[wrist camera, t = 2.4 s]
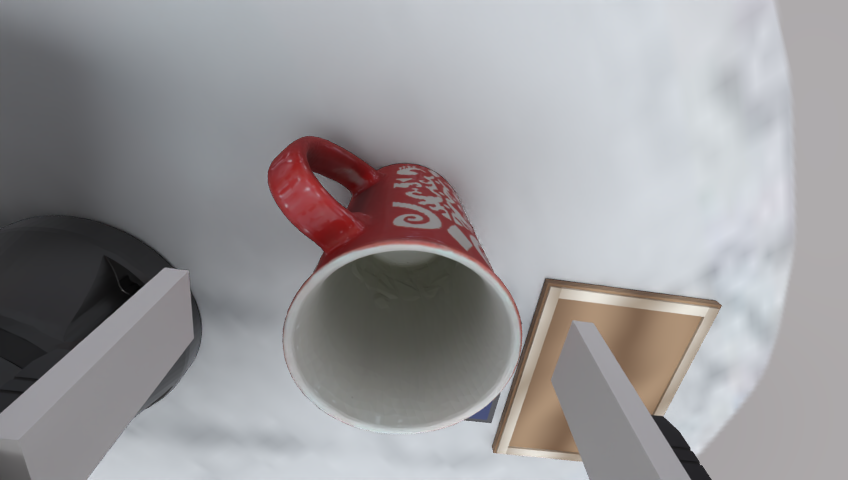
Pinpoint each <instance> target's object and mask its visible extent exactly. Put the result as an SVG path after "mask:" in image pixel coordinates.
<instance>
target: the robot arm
mask: <svg viewBox="0 0 848 480" xmlns="http://www.w3.org/2000/svg"><path fill="white" fill-rule="evenodd" d="M200 341H201V321H200V316H199V312H198V309H197V306H196V303H195V301H194V298H193V296H192V294H191V292H190V279H189V271H188V270H180V269H173V268H172V267H171V266H170V265H169V264H168V263H167V262H166V261H165V260H164V259H163V258H162V257H161V256H160V255H158V254H157V253H156V252H155V251H153V250H152V249H151V248H149V247H148V246H147V245H145V244H144V243H142V242H140V241H139V240H137V239H136V238H134V237H132V236H130V235H128V234H126V233H124V232H122V231H120V230H118V229H115V228H113V227H110V226H108V225H105V224H102V223H99V222H95V221H92V220H87V219H83V218H77V217H69V216H41V217H34V218H29V219H25V220H21V221H18V222H16V223H13V224H11V225H9V226H7V227H4V228H2V229H0V480H87V479H88V477H89V476H90V475H91V473H92V472H93V471H94V469H95V468H96V467H97V465H98V464H99V463H100V461H101V460H102V459H103V457H104V456H105V455H106V453H107V452H108V451H109V449H110V448H111V447H112V446H113V444H114V443H115V442H116V440H117V439H118V438H119V436H120V435H121V434H122V432H123V431H124V430H125V428H126V427H127V426H128V424H129V423H130V422H131V420H132V419H133V418H134V417H136V416H137V415H138V414H140V413H141V412H142V411H143V410H145V409H147V408H149V407H150V406H152V405H153V404H155V403H156V402H158V401H159V400H161V399H162V398H164V397H165V396H166V395H167V394H168V393H169V392H170V391H171V390H172V389H173V388H174V387H175V386H176V385H177V384H178V382H179V381H180V380H181V378H182V377H183V375H184V374H185V372H186V371H187V369H188V368H189V367H190V365H191V364H192V362H193V361H194V359H195V357H196V355H197V352H198V349H199V346H200ZM551 382H552V385H553V387H554V390H555V392H556V395H557V397H558V400H559V402H560V405H561V408H562V410H563V413H564V415H565V418H566V420H567V423H568V425H569V428H570V431H571V433H572V436H573V438H574V441H575V443H576V446H577V448H578V451H579V454H580V456H581V459H582V461H583V464H584V466H585V469H586V471H587V474H588V477H589V479H590V480H711V478H710V477H709V475H708V474H707V472H706V471H705V469H704V468H703V466H702V465H700V464H699V460H698V459H697V457H696V456H695V454H694V453H693V451H690V447H689V445H688V444H687V442H686V441H685V439H684V438H683V436H682V435H681V433H680V432H679V431H678V430H677V429H676V428H675V427H674V426H673V425H672V424H671V423H670V422H669V421H667V420H666V419H665V418H664V417H663V416H657V415H650V413H649V411H648V410H647V408H646V407H645V405H644V403H643V402H642V400H641V398H640V397H639V395H638V394H637V392H636V390H635V389H634V387H633V386H632V384H631V382H630V381H629V379H628V378H627V376H626V374H625V373H624V371H623V370H622V368H621V366H620V365H619V363H618V362H617V360H616V358H615V357H614V355H613V354H612V352H611V350H610V349H609V347H608V346H607V344H606V342H605V341H604V339H603V338H602V336H601V334H600V333H599V331H598V330H597V328H596V326H595V325H594V323H590V322H582V321H575V320H572V323H571V326H570V329H569V331H568V334H567V337H566V340H565V342H564V345H563V348H562V351H561V353H560V356H559V359H558V362H557V364H556V367H555V370H554V373H553V375H552V378H551Z"/></svg>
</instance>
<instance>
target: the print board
mask: <svg viewBox="0 0 848 480" xmlns="http://www.w3.org/2000/svg"><path fill="white" fill-rule="evenodd" d="M721 306H722V305H721V304H719V303H718V302H717V301H713V300H705V299H698V298H690V297H683V296H675V295H667V294H660V293H652V292H645V291H637V290H629V289H622V288H614V287H607V286H599V285H592V284H584V283H576V282H569V281H561V280H554V279H545V282H544V286H543V289H542V292H541V295H540V298H539V301H538V304H537V308H536V311H535V314H534V317H533V320H532V323H531V326H530V330H529V333H528V336H527V339H526V342H525V345H524V348H523V352H522V355H521V358H520V361H519V364H518V367H517V370H516V374H515V377H514V380H513V383H512V386H511V389H510V392H509V396H508V399H507V402H506V405H505V408H504V411H503V414H502V418H501V421H500V424H499V427H498V430H497V433H496V436H495V440H494V443H493V446H492V448H493V453H498V454H508V455H519V456H529V457H540V458H550V459H561V460H571V461H582V459H581V456H580V454H579V451H578V448H577V446H576V443H575V441H574V438H573V436H572V433H571V431H570V428H569V425H568V423H567V420H566V418H565V415H564V413H563V410H562V408H561V405H560V402H559V400H558V397H557V395H556V392H555V390H554V387H553V385H552V382H551V378H552V375H553V373H554V370H555V367H556V364H557V362H558V359H559V356H560V353H561V351H562V348H563V345H564V342H565V340H566V337H567V334H568V331H569V329H570V326H571V323H572V320H575V321H582V322H590V323H594V325H595V326H596V328H597V330H598V331H599V333H600V334H601V336H602V338H603V339H604V341H605V342H606V344H607V346H608V347H609V349H610V350H611V352H612V354H613V355H614V357H615V358H616V360H617V362H618V363H619V365H620V366H621V368H622V370H623V371H624V373H625V374H626V376H627V378H628V379H629V381H630V382H631V384H632V386H633V387H634V389H635V390H636V392H637V394H638V395H639V397H640V398H641V400H642V402H643V403H644V405H645V407H646V408H647V410H648V411H649V413H650V415H657V416H664V414H665V412H666V410H667V408H668V406H669V404H670V403H671V401H672V399H673V397H674V395H675V393H676V391H677V389H678V387H679V386H680V384H681V382H682V380H683V378H684V376H685V374H686V372H687V370H688V369H689V367H690V365H691V363H692V361H693V359H694V357H695V355H696V353H697V352H698V350H699V348H700V346H701V344H702V342H703V340H704V338H705V336H706V335H707V333H708V331H709V329H710V327H711V325H712V323H713V321H714V319H715V318H716V316H717V314H718V312H719V310H720V308H721ZM582 462H583V461H582Z"/></svg>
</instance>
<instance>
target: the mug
mask: <svg viewBox="0 0 848 480" xmlns="http://www.w3.org/2000/svg"><path fill="white" fill-rule="evenodd" d="M313 172H315V173H318V174H321V175H323V176H325V177H327V178H330V179H332V180H334V181H336V182H338V183H340V184H342V185H343V186H345V187H346V188H347V189H348V190H349V191H350V192H351V193H352V195H353V197H352V199H351V201H350V203H349V205H348V207H347V209H346V208H345V207H343V206H342V205H341V204H340V203H338V202H337V201H336V200H335V199H334V198H333V197H332V196H331V195H330V194H329V193H328V192H327V191H326V190H325V189H324V188H323V186H322V185H321V184H320V182H319V181H318V179H317V178H316V177H315V176H314V174H313ZM268 185H269V188H270V191H271V194H272V196H273V198H274V200H275V202H276V204H277V205H278V207H279V208H280V209H281V211H282V212H283V214H284V215H285V216H286V218H287V219H288V220H289V221H290V222H291V223H292V224H293V225H294V226H295V227H297V228H298V229H299V230H300V231H301V232H302V233H303V234H304V235H306V236H307V237H308V238H309V239H311V240H312V241H314V242H315V243H316V244H317V245H318V246H319V247H321V248H322V249H323V251H324V253H323V255H322V257H321V258H320V261H319V263H318V265H317V267H316V268H315V270H314V272H313V274H312V275H311V276H310V277H309V278H308V279H307V280H306V281H305V283H304V284H303V285H302V286H301V288H300V289H299V291H298V292H297V294H296V295H295V297H294V299H293V301H292V303H291V305H290V307H289V309H288V312H287V315H286V318H285V322H284V327H283V350H284V356H285V361H286V364H287V367H288V369H289V372H290V374H291V376H292V378H293V379H294V381H295V383H296V384H297V386H298V387H299V389H300V390H301V391H302V393H303V394H304V395H305V396H306V397H307V398H308V399H309V400H310V401H311V402H312V403H314V404H315V405H316V406H317V407H318V408H319V409H321V410H322V411H324V412H325V413H327V414H328V415H330V416H332V417H333V418H335V419H337V420H339V421H341V422H343V423H346V424H348V425H350V426H353V427H356V428H360V429H363V430H367V431H372V432H377V433H384V434H417V433H424V432H430V431H435V430H439V429H442V428H446V427H449V426H452V425H454V424H457V423H459V422H461V421H463V420H465V419H467V418H469V417H470V416H472V415H474V414H475V413H477V412H479V411H480V410H481V409H483V408H484V407H486V406H487V405H488V404H489V403H490V402H491V401H492V400H494V399H495V398H496V397H497V395H498V394H499V393H500V392H501V391H502V390H503V388H504V387H505V386H506V384H507V383H508V381H509V380H510V378H511V377H512V375H513V373H514V371H515V369H516V366H517V364H518V360H519V357H520V352H521V346H522V326H521V320H520V315H519V312H518V309H517V306H516V304H515V302H514V299H513V297H512V296H511V294H510V292H509V291H508V289H507V288H506V287H505V285H504V284H503V282H502V281H501V280H500V279H499V277H498V276H497V275H496V274H495V273H494V271H493V269H492V267H491V265H490V263H489V261H488V259H487V257H486V255H485V253H484V251H483V249H482V247H481V245H480V243H479V241H478V239H477V237H476V235H475V232H474V230H473V227H472V226H471V224H470V223H469V221H468V218H467V216H466V214H465V212H464V210H463V208H462V206H461V203H460V201H459V199H458V197H457V195H456V193H455V191H454V190H453V188H452V187H451V186H450V185H449V183H448V182H447V181H446V180H445V179H444V178H443V177H441V176H440V175H439V174H437V173H436V172H434V171H432V170H430V169H428V168H426V167H423V166H420V165H415V164H394V165H389V166H386V167H383V168H381V169H379V170H375V169H374V168H372V167H371V166H369V165H368V164H367V163H366V162H364V161H363V160H361V159H360V158H358V157H357V156H355V155H354V154H352V153H350V152H349V151H347V150H345V149H343V148H342V147H340V146H338V145H336V144H334V143H332V142H330V141H328V140H325V139H322V138H319V137H313V136H306V137H302V138H300V139H298V140H296V141H294V142H293V143H291V144H290V145H289V146H287V147H286V148H285V149H284V150H283V151H282V152H281V153H280V154H279V155H278V156H277V157H276V158H275V159H274V160H273V161H272V163H271V165H270V167H269V170H268Z"/></svg>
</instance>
